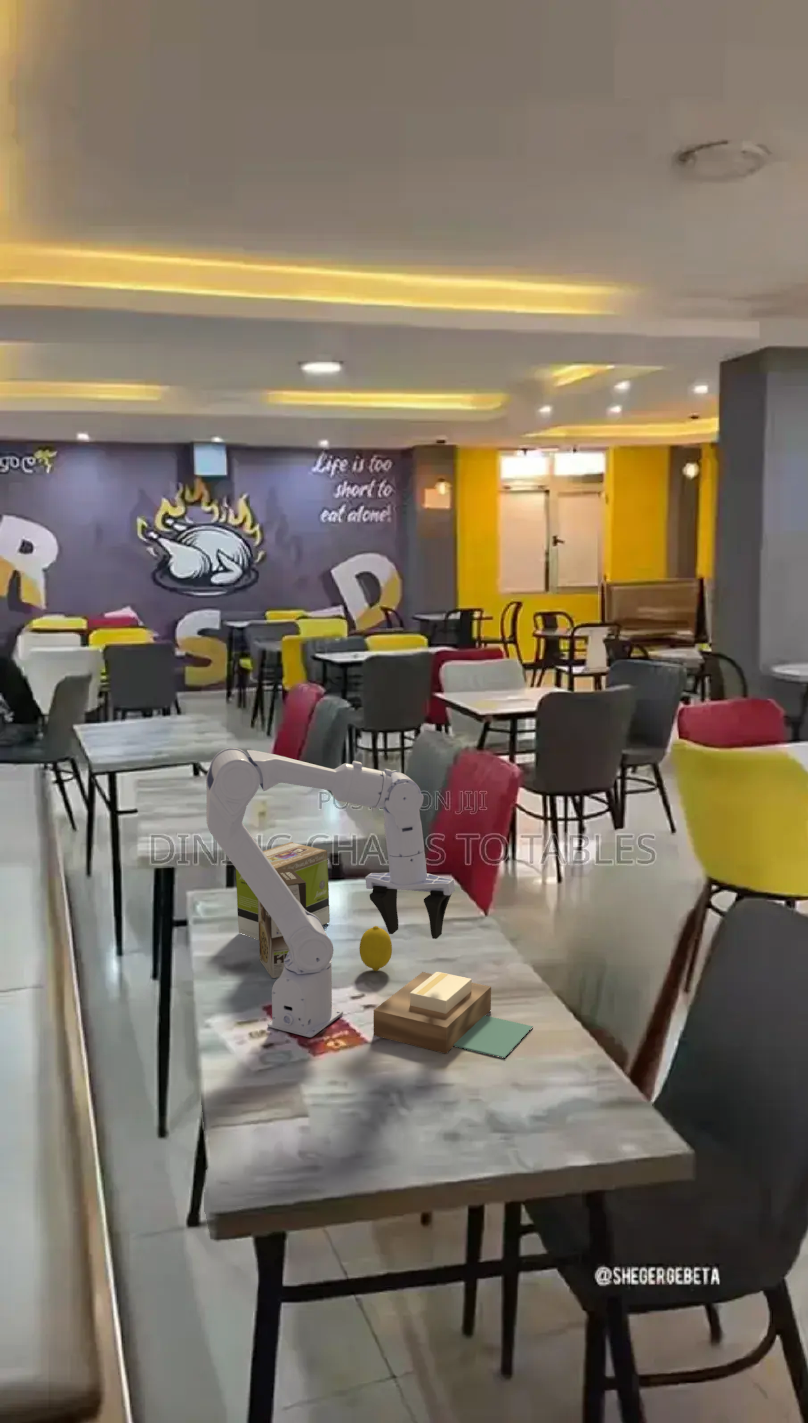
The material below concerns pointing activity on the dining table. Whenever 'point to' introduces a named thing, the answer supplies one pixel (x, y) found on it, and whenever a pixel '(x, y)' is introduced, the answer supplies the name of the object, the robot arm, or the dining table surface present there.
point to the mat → (493, 1036)
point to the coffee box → (269, 934)
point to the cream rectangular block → (440, 992)
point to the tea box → (306, 865)
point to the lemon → (375, 948)
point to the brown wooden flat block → (429, 1018)
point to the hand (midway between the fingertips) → (415, 933)
